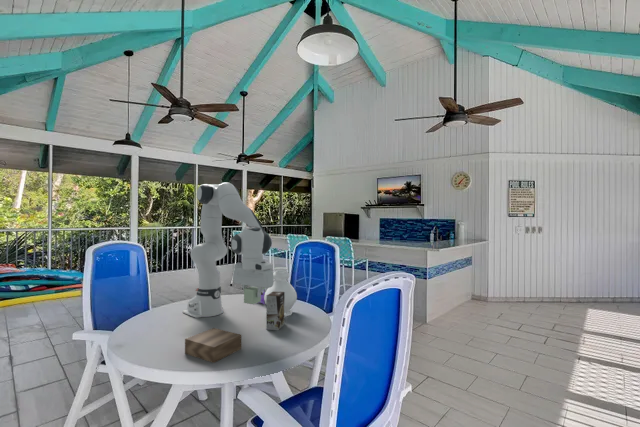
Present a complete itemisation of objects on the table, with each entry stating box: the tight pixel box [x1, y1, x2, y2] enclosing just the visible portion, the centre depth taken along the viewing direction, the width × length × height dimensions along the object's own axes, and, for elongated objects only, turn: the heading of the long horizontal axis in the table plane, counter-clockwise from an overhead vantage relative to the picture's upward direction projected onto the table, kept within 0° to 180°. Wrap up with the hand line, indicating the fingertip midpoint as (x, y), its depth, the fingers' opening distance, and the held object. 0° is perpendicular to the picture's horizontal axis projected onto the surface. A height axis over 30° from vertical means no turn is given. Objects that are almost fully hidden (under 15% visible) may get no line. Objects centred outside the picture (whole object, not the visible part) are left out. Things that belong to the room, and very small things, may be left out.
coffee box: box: [265, 292, 285, 331], centre depth 151 cm, size 9×6×16 cm
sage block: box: [243, 286, 261, 305], centre depth 135 cm, size 5×5×6 cm
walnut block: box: [184, 327, 242, 364], centre depth 124 cm, size 16×14×6 cm
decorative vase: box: [264, 266, 298, 318], centre depth 172 cm, size 18×18×25 cm
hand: (252, 296), depth 135 cm, fingers closed on sage block, 5 cm apart
